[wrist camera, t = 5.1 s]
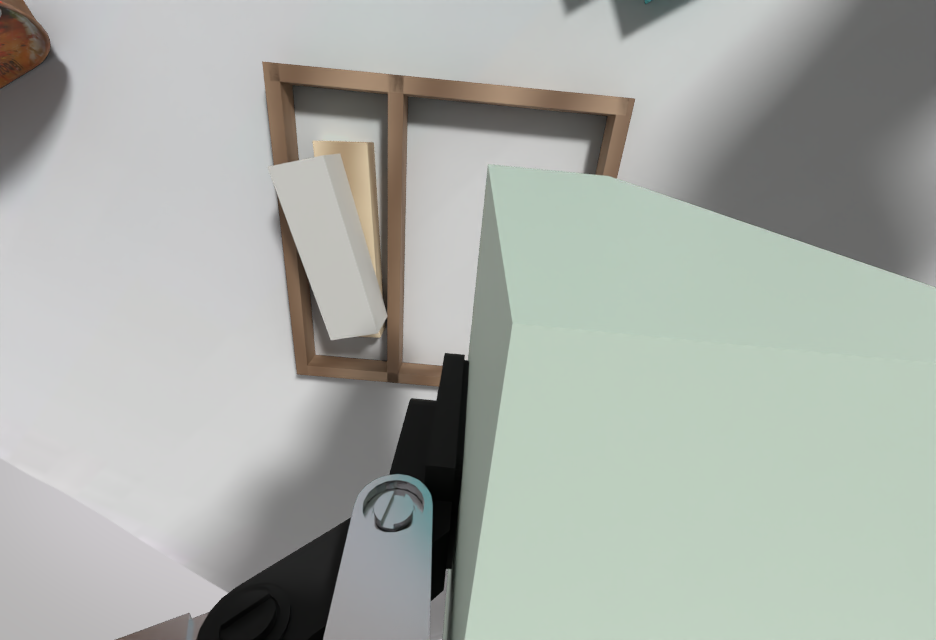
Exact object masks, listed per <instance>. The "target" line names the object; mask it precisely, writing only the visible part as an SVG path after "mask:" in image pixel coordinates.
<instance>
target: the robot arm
mask: <svg viewBox="0 0 936 640" xmlns="http://www.w3.org/2000/svg"><path fill="white" fill-rule="evenodd" d="M464 357H465V355H460V354H449V353H445V355H444V361H443V367H442V372H441V378H440V384H439V390H438V395H437V401H434V400H423V399H413V398H411V399H410V402H409V405H408V409H407V412H406V416H405V419H404V423H403V427H402V430H401V434H400V438H399V441H398V445H397V449H396V452H395V456H394V460H393V463H392V467H391V471H390V474H389V475H386V476H383V477H380V478H377V479H375V480H373V481H372V482H370V483H369V484H368V485H366V486H365V487H364V488H363V490H362V491H361V492H360V493H359V494H358V497H357V499H356V502H355V504H354V508H353V512H352V517H351V518H349V519H348V520H346V521H344V522H343V523H341V524H339V525H338V526H336V527H335V528H333V529H331V530H330V531H328V532H326V533H325V534H323V535H321V536H320V537H318V538H316V539H315V540H313V541H312V542H310V543H308V544H307V545H305V546H303V547H302V548H300V549H298V550H297V551H295V552H293V553H292V554H290V555H288V556H287V557H285V558H284V559H282V560H280V561H279V562H277V563H275V564H274V565H272V566H270V567H269V568H267V569H265V570H264V571H262V572H261V573H259V574H257V575H256V576H254V577H252V578H251V579H249V580H247V581H246V582H244V583H242V584H241V585H239V586H237V587H236V588H235V589H233V590H232V591H231V592H229V593H228V594H227V595H225V596H224V597H223V598H222V599H221V600H220V601H219V602H218V603H217V604H216V605H215V606H214V608H213V609H212V610H211V611H210V612H208V613H206V614H203V615H200V616H197V617H195V618H191V615H190V613H187V614H184V615H181V616H179V617H176V618H173V619H170V620H168V621H165V622H162V623H159V624H157V625H154V626H151V627H149V628H146V629H143V630H140V631H138V632H135V633H132V634H129V635H127V636H124V637H121V638H118V639H116V640H430V602H431V601H432V600H433V599H434V598H435V597H436V596H437V595H438V594H440V593H441V592H442V591H443V590H444V581H445V571H446V569H452V562H453V553H454V544H455V535H456V526H457V517H458V508H459V498H460V489H461V480H462V470H463V457H464V441H465V424H466V408H467V391H468V375H469V361H467V360H464Z"/></svg>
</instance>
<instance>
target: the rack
mask: <svg viewBox="0 0 936 640" xmlns="http://www.w3.org/2000/svg"><path fill="white" fill-rule="evenodd" d="M262 63H263V72H264V81H265V90H266V99H267V108H268V117H269V126H270V135H271V144H272V153H273V162H274V165H278V164H283V163H288V162H293V161H298V160H299V158H298V146H297V134H296V123H295V111H294V99H293V88H292V85H297V86H307V87H317V88H328V89H338V90H348V91H358V92H368V93H378V94H388V273H387V361H379V360H368V359H356V358H345V357H334V356H322V355H315V344H314V333H313V321H312V309H311V298H310V286H309V279H308V277H307V274H306V271H305V268H304V266H303V263H302V260H301V258H300V255H299V252H298V249H297V247H296V244H295V241H294V238H293V236H292V233H291V230H290V228H289V225H288V222H287V219H286V217H285V214H284V211H283V208H282V206H281V203H280V200H279V198H278V195H277V198H278V207H279V216H280V225H281V234H282V243H283V252H284V261H285V270H286V279H287V288H288V297H289V307H290V316H291V325H292V334H293V343H294V352H295V361H296V370H297V374H300V375H311V376H323V377H334V378H346V379H358V380H369V381H381V382H392V383H404V384H415V385H427V386H439V384H440V378H441V372H442V367H443V366H437V365H425V364H414V363H402V355H403V307H404V259H405V212H406V164H407V116H408V96H409V97H419V98H429V99H439V100H449V101H460V102H470V103H480V104H490V105H500V106H510V107H520V108H531V109H541V110H551V111H561V112H571V113H581V114H592V115H602V116H608V117H607V121H606V126H605V131H604V136H603V140H602V145H601V150H600V155H599V159H598V164H597V169H596V174H595V175H603V176H610V177H613V178H616V179H617V175H618V171H619V166H620V162H621V158H622V154H623V149H624V145H625V141H626V136H627V132H628V128H629V123H630V119H631V115H632V111H633V106H634V102H635V99H633V98H623V97H613V96H603V95H593V94H583V93H573V92H562V91H552V90H542V89H532V88H522V87H512V86H502V85H492V84H482V83H472V82H462V81H452V80H442V79H432V78H422V77H411V76H401V75H391V74H381V73H371V72H361V71H351V70H341V69H331V68H321V67H311V66H301V65H291V64H281V63H271V62H262Z"/></svg>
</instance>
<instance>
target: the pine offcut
mask: <svg viewBox="0 0 936 640" xmlns="http://www.w3.org/2000/svg"><path fill="white" fill-rule="evenodd" d="M313 149H314V157H317V156H322V155H331V154H341V158H342V161H343V165H344V168H345V172H346V175H347V179H348V182H349V185H350V189H351V192H352V196H353V199H354V203H355V206H356V209H357V213H358V216H359V220H360V223H361V227H362V230H363V233H364V237H365V240H366V244H367V247H368V251H369V254H370V257H371V261H372V264H373V268H374V271H375V275H376V278H377V281H378V285H379V288H380V292H381V295H382V299H383V284H382V268H381V252H380V236H379V220H378V204H377V187H376V171H375V155H374V143H373V142H345V141H313ZM383 302H384V300H383ZM384 329H385V322H384V324H383V325H382V327H381V329H380V331H379V333H377V334H370V335H364V336H357V337H379V338H380V337H381V335H382V333H383V331H384Z"/></svg>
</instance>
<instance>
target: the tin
mask: <svg viewBox="0 0 936 640" xmlns="http://www.w3.org/2000/svg"><path fill="white" fill-rule="evenodd" d="M49 50H50V39H49V36H48V34H47V32H46V31H45V30H44V28H43V27H42V26H41V25H40V24H39V23H38V22H37V21H36V19H35V18H34V16H33V15H32V13H31V11H30V10H29V8H28V7H27V5H26V4H25V2H24V1H23V0H0V88H2V87H4V86H5V85H7V84H9V83H10V82H12V81H13V80H15V79H17V78H18V77H20V76H22V75H23V74H25V73H27V72H28V71H30V70H32V69H33V68H35V67H36V66H38V65H39V64H40V63H42V62H43V61H44V60H45V58H46V57H47V55H48V53H49Z"/></svg>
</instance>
